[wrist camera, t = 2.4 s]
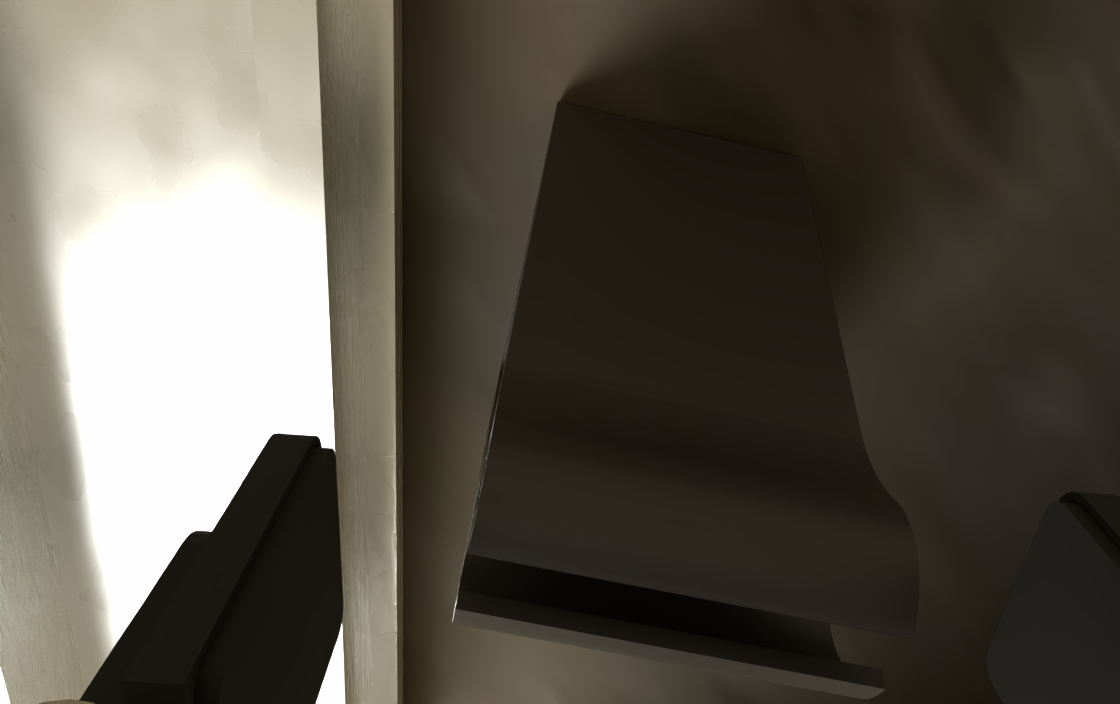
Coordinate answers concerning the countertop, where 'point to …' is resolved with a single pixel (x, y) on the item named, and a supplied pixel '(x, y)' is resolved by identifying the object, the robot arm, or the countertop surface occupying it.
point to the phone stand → (681, 423)
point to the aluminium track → (193, 306)
